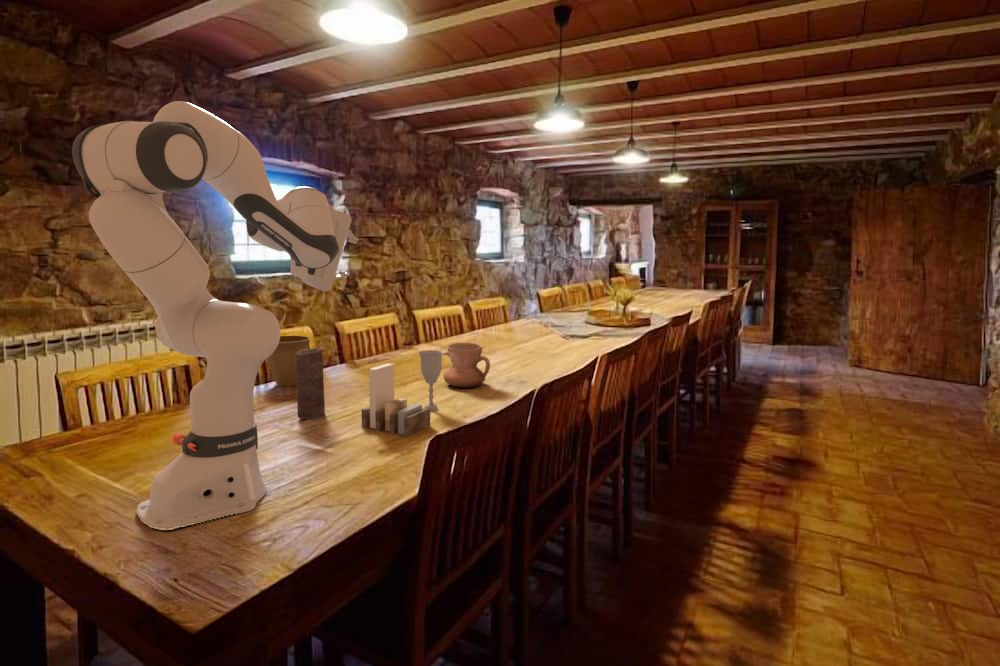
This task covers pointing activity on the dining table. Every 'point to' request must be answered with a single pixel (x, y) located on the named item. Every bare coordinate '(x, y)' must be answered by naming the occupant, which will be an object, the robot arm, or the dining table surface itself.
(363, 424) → the rack
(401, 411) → the offcut
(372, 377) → the tall board
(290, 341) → the plant pot
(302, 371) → the dark stone block
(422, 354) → the chalice
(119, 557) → the dining table surface
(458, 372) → the ceramic jug
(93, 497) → the dining table surface
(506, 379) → the dining table surface
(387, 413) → the offcut
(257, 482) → the robot arm
